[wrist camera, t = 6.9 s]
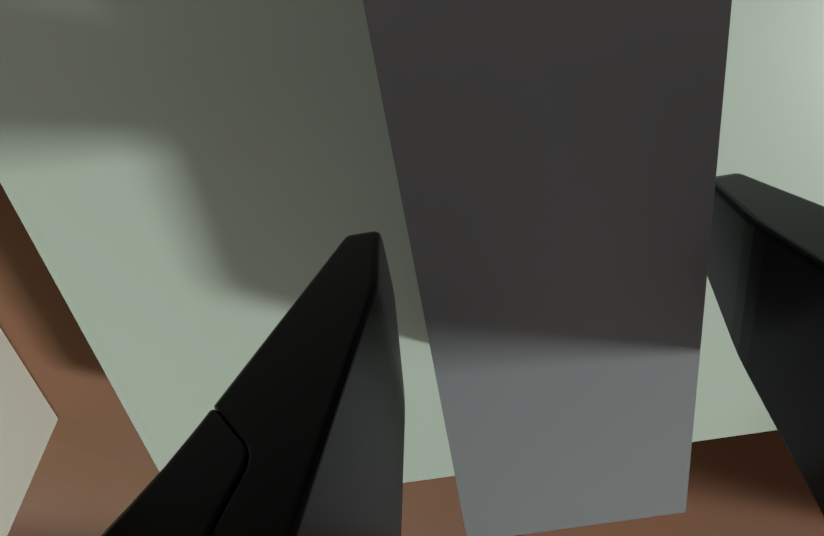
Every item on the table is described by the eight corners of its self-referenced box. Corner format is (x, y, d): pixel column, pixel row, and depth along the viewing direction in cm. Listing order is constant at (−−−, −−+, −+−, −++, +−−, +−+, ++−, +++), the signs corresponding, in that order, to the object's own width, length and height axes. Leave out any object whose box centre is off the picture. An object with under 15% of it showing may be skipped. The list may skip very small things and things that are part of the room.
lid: (838, 315, 18) (1056, 596, 12) (206, 409, 19) (137, 712, 13) (1064, -670, 9) (2267, -1324, 3) (-169, -407, 10) (-909, -570, 4)
